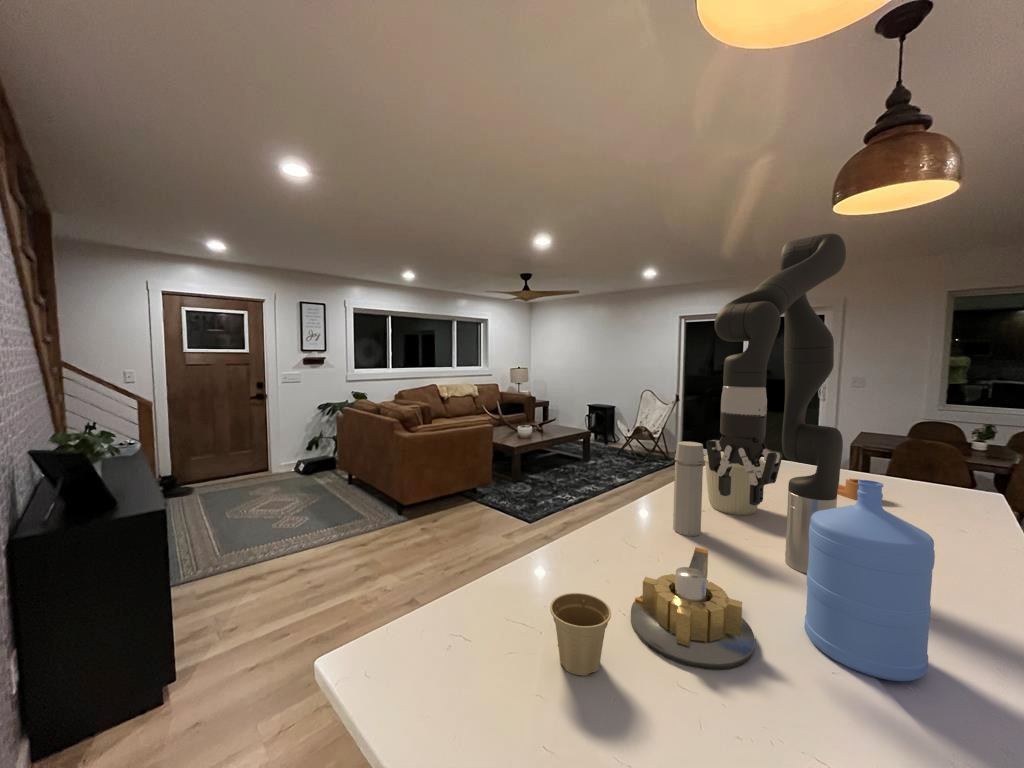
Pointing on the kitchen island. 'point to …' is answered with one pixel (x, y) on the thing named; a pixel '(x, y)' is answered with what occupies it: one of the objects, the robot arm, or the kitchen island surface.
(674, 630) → the segmented ring on plate
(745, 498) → the canister
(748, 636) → the housing
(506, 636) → the kitchen island surface
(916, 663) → the water jug
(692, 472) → the water bottle
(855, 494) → the bracket
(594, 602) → the flower pot
